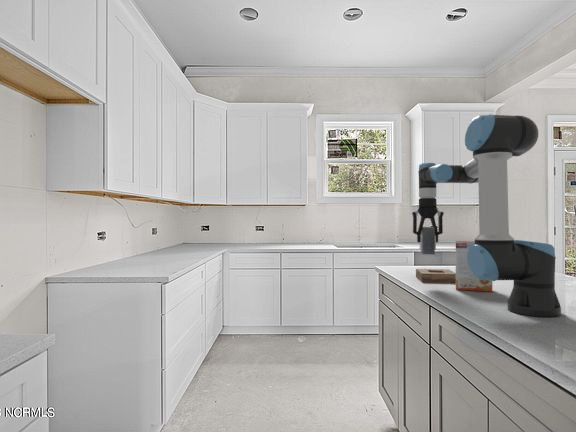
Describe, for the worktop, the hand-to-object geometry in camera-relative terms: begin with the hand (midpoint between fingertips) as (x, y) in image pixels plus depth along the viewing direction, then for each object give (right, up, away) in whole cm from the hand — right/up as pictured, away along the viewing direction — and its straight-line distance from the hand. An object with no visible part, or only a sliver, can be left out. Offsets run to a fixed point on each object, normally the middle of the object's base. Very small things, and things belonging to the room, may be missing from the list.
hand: (427, 249), depth 181 cm
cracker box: (+16, -16, -11) cm, 25 cm away
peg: (0, -2, 0) cm, 2 cm away
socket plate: (+9, -16, +14) cm, 23 cm away
